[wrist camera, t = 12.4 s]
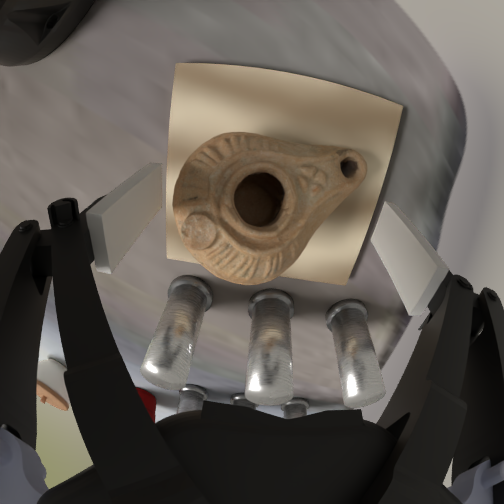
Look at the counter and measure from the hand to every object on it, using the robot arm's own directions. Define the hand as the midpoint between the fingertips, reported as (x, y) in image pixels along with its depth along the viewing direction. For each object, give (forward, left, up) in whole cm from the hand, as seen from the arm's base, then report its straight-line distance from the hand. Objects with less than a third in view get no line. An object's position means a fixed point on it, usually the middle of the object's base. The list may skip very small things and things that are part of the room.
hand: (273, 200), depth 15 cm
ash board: (0, 0, -6) cm, 6 cm away
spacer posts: (+23, +2, -6) cm, 24 cm away
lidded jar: (+42, -36, -6) cm, 56 cm away
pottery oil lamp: (0, 0, -5) cm, 5 cm away
